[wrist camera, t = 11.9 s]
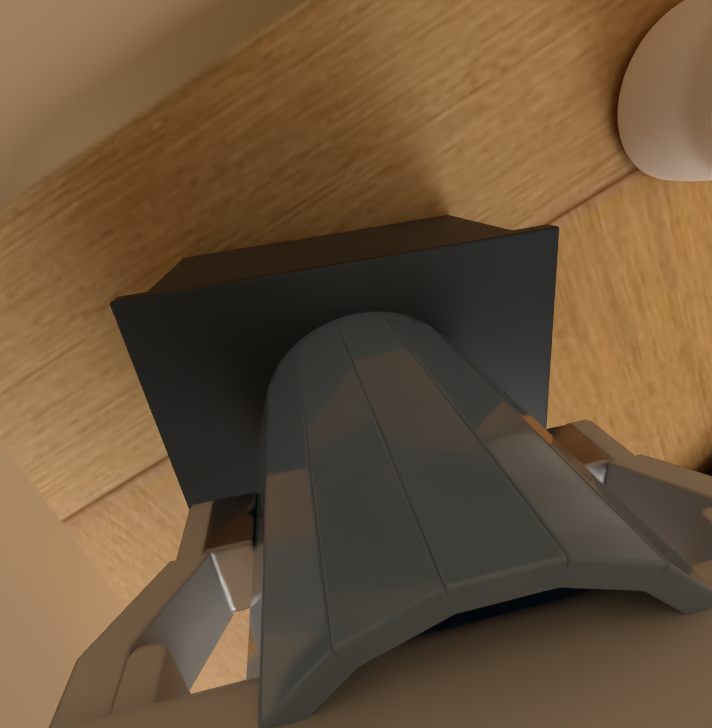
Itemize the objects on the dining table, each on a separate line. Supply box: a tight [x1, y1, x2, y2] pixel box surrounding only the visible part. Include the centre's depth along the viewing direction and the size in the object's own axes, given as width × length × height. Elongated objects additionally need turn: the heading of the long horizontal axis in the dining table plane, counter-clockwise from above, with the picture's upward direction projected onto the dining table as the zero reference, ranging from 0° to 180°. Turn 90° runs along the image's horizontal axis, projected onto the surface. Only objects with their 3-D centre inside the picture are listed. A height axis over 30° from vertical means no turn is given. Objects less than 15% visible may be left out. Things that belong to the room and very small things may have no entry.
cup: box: [246, 312, 712, 728], centre depth 10 cm, size 7×7×9 cm
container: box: [110, 215, 559, 509], centre depth 17 cm, size 13×10×8 cm
